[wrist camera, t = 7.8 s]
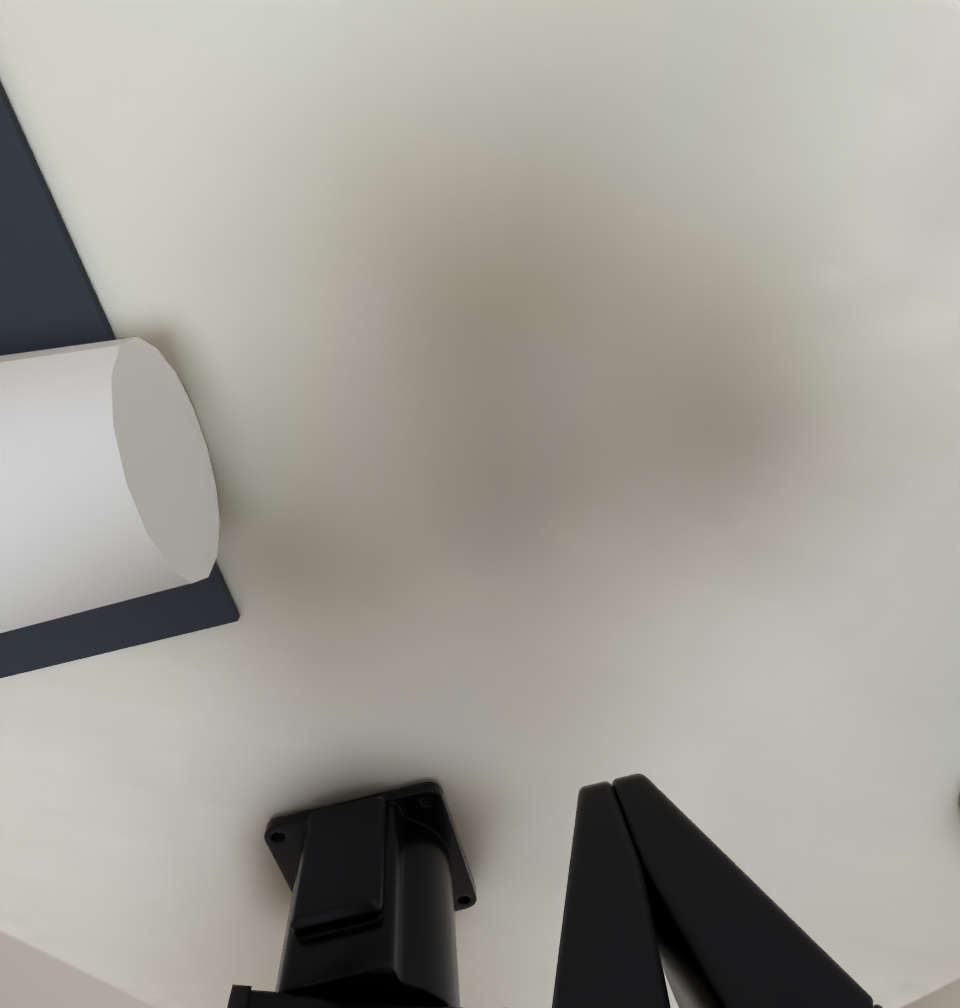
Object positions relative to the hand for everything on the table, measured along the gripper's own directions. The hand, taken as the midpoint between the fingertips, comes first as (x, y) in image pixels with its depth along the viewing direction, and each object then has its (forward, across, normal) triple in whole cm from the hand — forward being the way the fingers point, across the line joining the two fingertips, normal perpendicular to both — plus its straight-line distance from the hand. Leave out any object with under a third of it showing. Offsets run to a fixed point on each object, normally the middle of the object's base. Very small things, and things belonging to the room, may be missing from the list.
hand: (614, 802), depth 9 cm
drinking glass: (+9, +7, -3) cm, 12 cm away
